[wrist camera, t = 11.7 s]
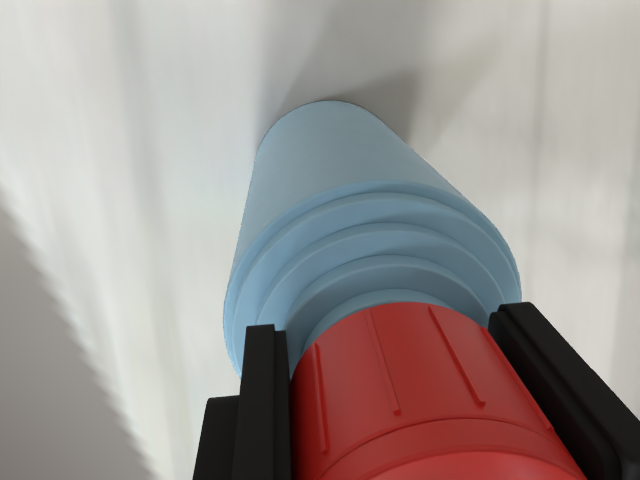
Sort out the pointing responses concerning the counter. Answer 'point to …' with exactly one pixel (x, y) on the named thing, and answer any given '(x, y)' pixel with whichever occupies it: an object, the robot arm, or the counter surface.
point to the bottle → (354, 233)
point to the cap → (417, 404)
